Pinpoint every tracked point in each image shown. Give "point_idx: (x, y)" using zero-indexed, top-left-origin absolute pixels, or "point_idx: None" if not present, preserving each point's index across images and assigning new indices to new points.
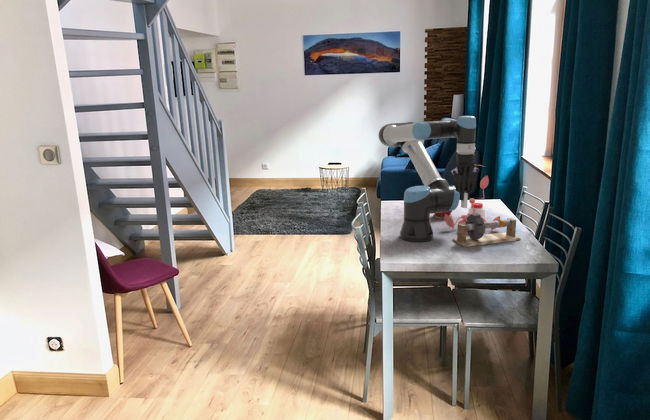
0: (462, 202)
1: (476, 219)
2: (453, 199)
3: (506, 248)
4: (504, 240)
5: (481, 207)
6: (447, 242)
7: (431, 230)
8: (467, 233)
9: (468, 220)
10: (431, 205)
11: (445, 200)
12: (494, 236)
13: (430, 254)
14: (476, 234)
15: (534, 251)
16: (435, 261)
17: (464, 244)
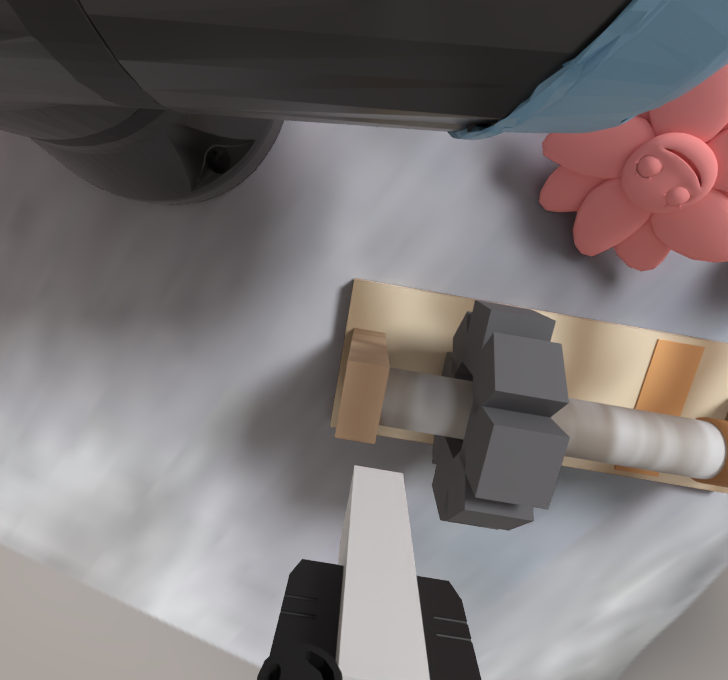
0: (344, 549)
1: (459, 513)
2: (503, 118)
3: (517, 554)
4: (614, 472)
5: None
6: (298, 292)
7: (231, 141)
8: (552, 209)
9: (481, 364)
10: (38, 100)
11: (313, 104)
12: (628, 391)
13: (70, 429)
14: (436, 451)
15: (595, 651)
16: (39, 528)
17: (333, 423)
